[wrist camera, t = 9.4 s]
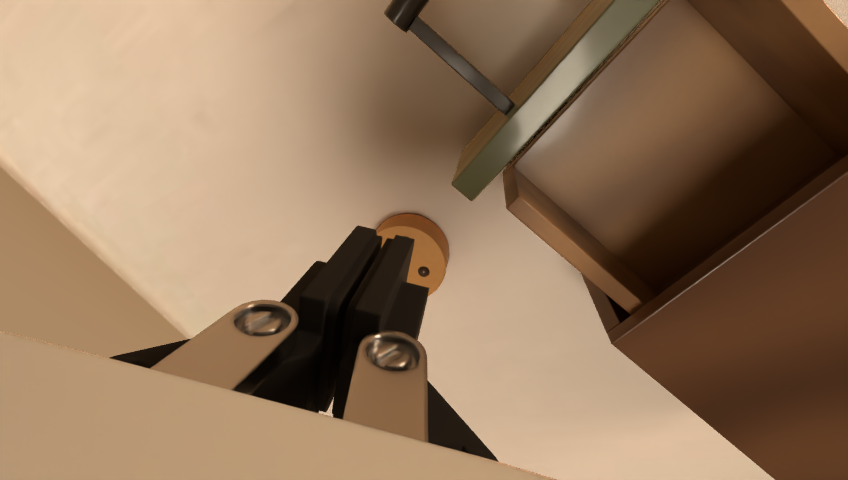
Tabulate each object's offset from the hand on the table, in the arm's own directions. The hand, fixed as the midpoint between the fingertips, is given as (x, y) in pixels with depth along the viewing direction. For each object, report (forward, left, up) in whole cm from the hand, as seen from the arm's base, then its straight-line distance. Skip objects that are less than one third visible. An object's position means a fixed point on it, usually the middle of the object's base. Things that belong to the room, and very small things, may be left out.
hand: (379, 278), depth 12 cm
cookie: (+2, -6, -15) cm, 16 cm away
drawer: (+4, +8, -14) cm, 17 cm away
